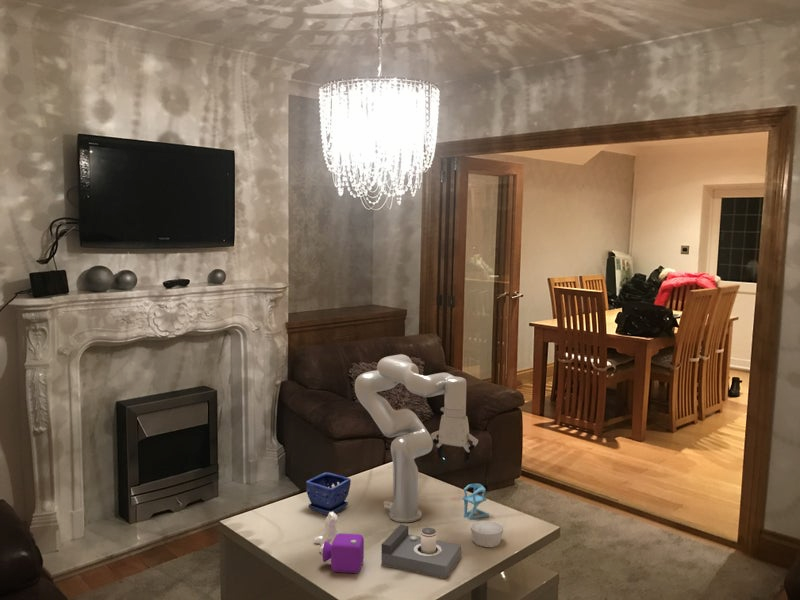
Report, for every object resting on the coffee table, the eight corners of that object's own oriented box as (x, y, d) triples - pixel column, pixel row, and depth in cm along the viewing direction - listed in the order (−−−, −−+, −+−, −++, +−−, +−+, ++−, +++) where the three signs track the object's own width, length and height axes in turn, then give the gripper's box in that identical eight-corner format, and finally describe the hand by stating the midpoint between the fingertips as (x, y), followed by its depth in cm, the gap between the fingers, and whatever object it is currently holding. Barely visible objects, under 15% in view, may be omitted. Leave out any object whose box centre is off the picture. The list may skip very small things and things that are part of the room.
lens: (418, 560, 212) (418, 531, 211) (424, 553, 217) (424, 526, 216) (432, 563, 210) (432, 534, 209) (438, 556, 214) (438, 529, 214)
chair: (459, 515, 250) (459, 484, 249) (474, 509, 255) (475, 479, 254) (473, 522, 244) (473, 491, 243) (489, 516, 249) (489, 485, 248)
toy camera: (321, 559, 214) (321, 530, 213) (363, 558, 215) (363, 528, 215) (320, 576, 204) (320, 545, 203) (364, 574, 205) (364, 544, 204)
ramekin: (465, 537, 231) (465, 522, 231) (492, 532, 235) (493, 518, 235) (480, 551, 221) (480, 536, 221) (508, 545, 225) (509, 531, 225)
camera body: (381, 564, 211) (381, 544, 210) (400, 543, 226) (400, 524, 225) (445, 578, 203) (446, 557, 202) (461, 556, 217) (461, 535, 217)
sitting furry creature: (313, 542, 226) (312, 508, 225) (336, 537, 230) (336, 505, 229) (320, 554, 218) (320, 519, 217) (345, 549, 221) (345, 515, 220)
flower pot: (352, 507, 256) (352, 477, 255) (331, 519, 245) (331, 488, 244) (325, 499, 264) (325, 471, 262) (304, 511, 252) (304, 481, 251)
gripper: (428, 411, 228) (426, 459, 230) (475, 418, 221) (473, 467, 223) (435, 406, 235) (434, 453, 237) (481, 412, 228) (480, 460, 229)
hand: (453, 459), depth 230 cm, fingers open, 9 cm apart
